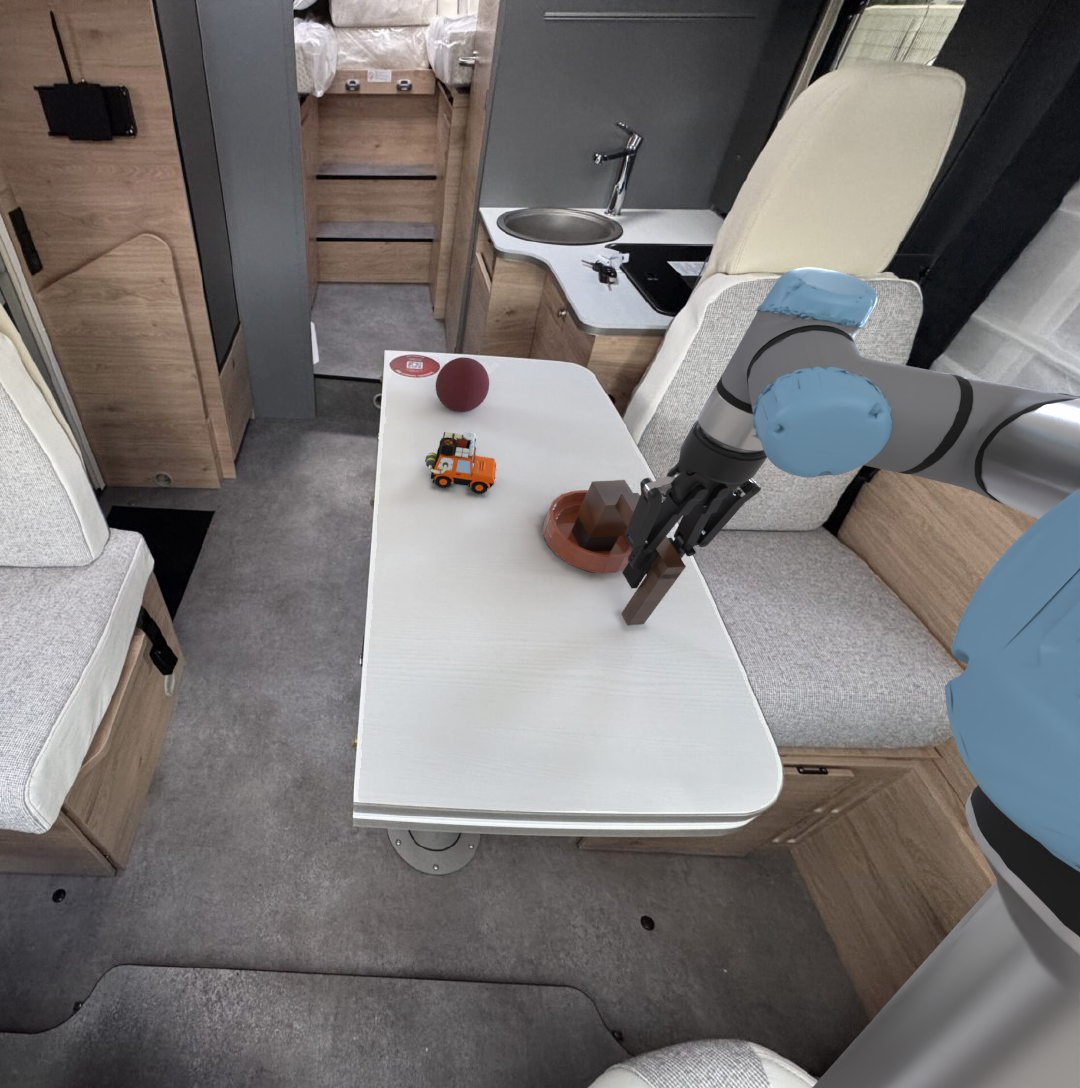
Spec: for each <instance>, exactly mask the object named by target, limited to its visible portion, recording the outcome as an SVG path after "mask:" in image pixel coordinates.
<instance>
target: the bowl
mask: <svg viewBox="0 0 1080 1088" xmlns="http://www.w3.org/2000/svg"><path fill="white" fill-rule="evenodd" d="M587 492H588V489H583V490H579V489H578V490H570V491H568V492H565V493H561V494H560V495H558V496H557V497H556V498H555V499H553V501H552V503H551V505H550V506H549V509H548V511H547V514H546V516H545V519H544V521H543V523H542V535H543V537H544V539H545V542H546V543H547V546H548V547H549V548H550V549H551V550H552V552H553V553H555V555H556V556H558V557H559V558H560V559H561V560H563V561H565V562H566V563H568V565H571V566H574V567H576V568H579V569H580V570H583V571H587V572H591V573H598V574H612V573H613V574H614V573H618V572H620V571H624V569H625V568H626V566H627V564H628V563H629V562H628V557H629V555H630V553H631V551H632V550H633V549H632V548H631V546H630V544H629V543H628V541H627V539H626V537H625V532H626V530H627V528H626V530H625V531H624V533H623V535H622V536H619V538H618V540H617V541H616V543H615V545H614V547H613V548H612V550H611V551H598V552H592V551H589V550H587V549H584V548H581V547H580V546H579V544H578V542H577V540H576V538H575V536H574V534H573V532H572V528H573V526H574V524H575V522H576V520H577V518H578V514H577V513H578V511H579V509H580V507H581V504H582V502H583V500H584V498H585V496H586V494H587Z"/></svg>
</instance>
